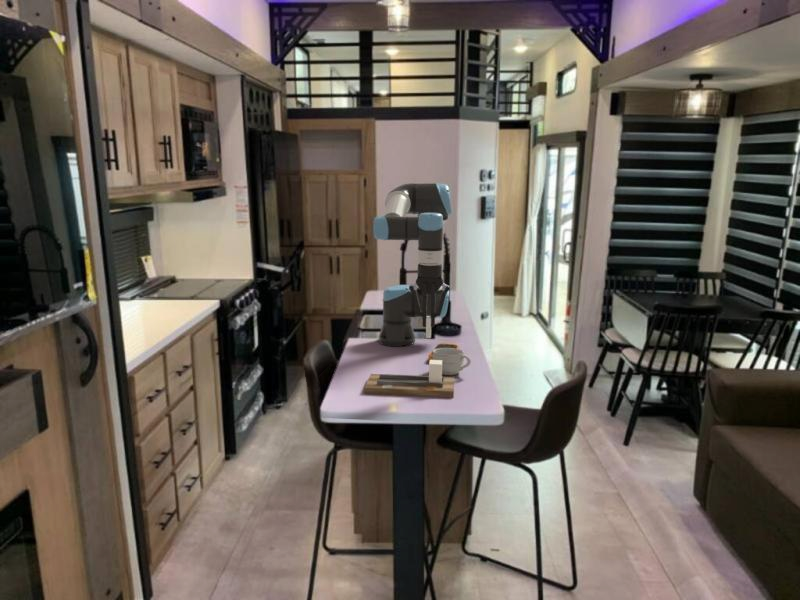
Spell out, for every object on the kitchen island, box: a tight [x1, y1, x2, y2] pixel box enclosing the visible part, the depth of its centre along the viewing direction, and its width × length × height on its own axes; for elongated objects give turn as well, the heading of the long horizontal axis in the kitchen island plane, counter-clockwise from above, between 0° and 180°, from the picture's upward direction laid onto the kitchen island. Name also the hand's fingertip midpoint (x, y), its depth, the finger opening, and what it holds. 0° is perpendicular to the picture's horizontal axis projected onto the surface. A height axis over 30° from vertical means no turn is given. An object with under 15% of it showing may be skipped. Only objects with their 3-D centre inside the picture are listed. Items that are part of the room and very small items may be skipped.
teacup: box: [432, 348, 472, 376], centre depth 204 cm, size 14×11×8 cm
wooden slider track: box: [364, 373, 455, 398], centre depth 190 cm, size 13×28×3 cm, turn 84°
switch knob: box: [428, 360, 443, 383], centre depth 189 cm, size 4×4×7 cm
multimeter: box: [428, 342, 460, 363], centre depth 223 cm, size 9×18×3 cm, turn 164°
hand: (428, 336), depth 187 cm, fingers closed
